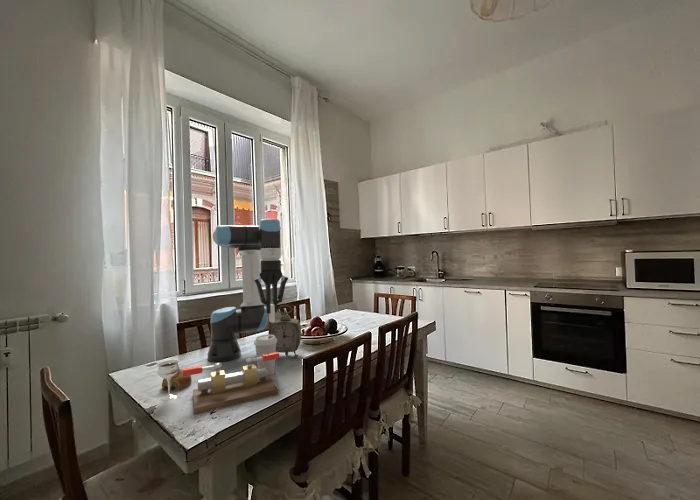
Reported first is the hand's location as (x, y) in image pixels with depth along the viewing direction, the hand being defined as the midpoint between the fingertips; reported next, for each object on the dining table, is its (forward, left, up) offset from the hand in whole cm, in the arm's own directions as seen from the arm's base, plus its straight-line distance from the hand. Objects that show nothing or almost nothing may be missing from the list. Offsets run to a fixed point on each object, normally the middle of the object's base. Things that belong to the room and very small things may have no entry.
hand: (272, 321), depth 119 cm
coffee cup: (-14, +1, -25) cm, 28 cm away
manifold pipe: (-2, -14, -23) cm, 26 cm away
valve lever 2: (-2, -3, -15) cm, 16 cm away
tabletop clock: (-29, +14, -25) cm, 41 cm away
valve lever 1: (-2, -24, -15) cm, 29 cm away
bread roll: (-20, -32, -25) cm, 45 cm away
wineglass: (-10, -35, -25) cm, 44 cm away
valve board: (0, -14, -25) cm, 28 cm away
